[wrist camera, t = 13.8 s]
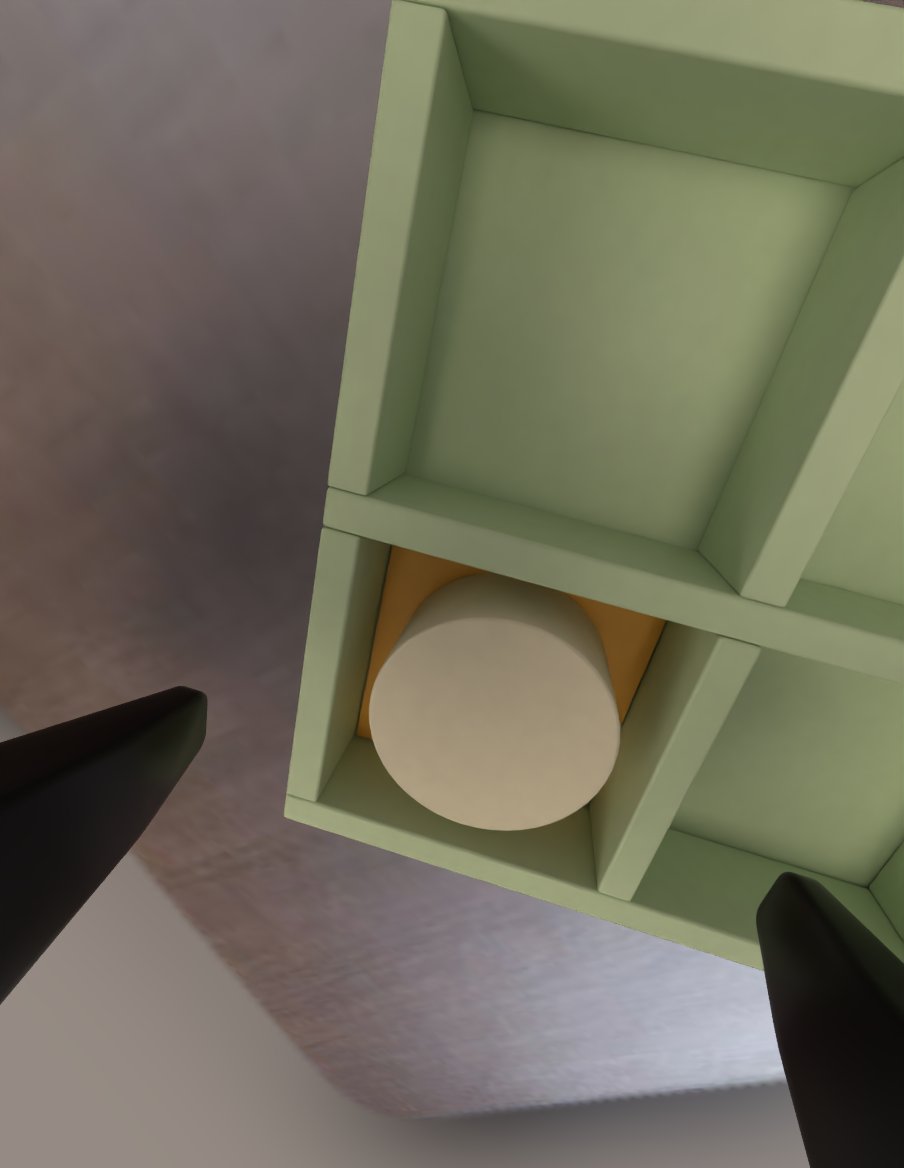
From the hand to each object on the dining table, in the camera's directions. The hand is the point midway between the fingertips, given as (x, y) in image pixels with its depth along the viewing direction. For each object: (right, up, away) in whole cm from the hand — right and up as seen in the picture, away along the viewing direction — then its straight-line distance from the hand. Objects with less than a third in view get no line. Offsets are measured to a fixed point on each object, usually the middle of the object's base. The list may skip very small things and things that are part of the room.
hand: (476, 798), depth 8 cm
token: (+1, +1, +4) cm, 4 cm away
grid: (+5, +4, +3) cm, 7 cm away
